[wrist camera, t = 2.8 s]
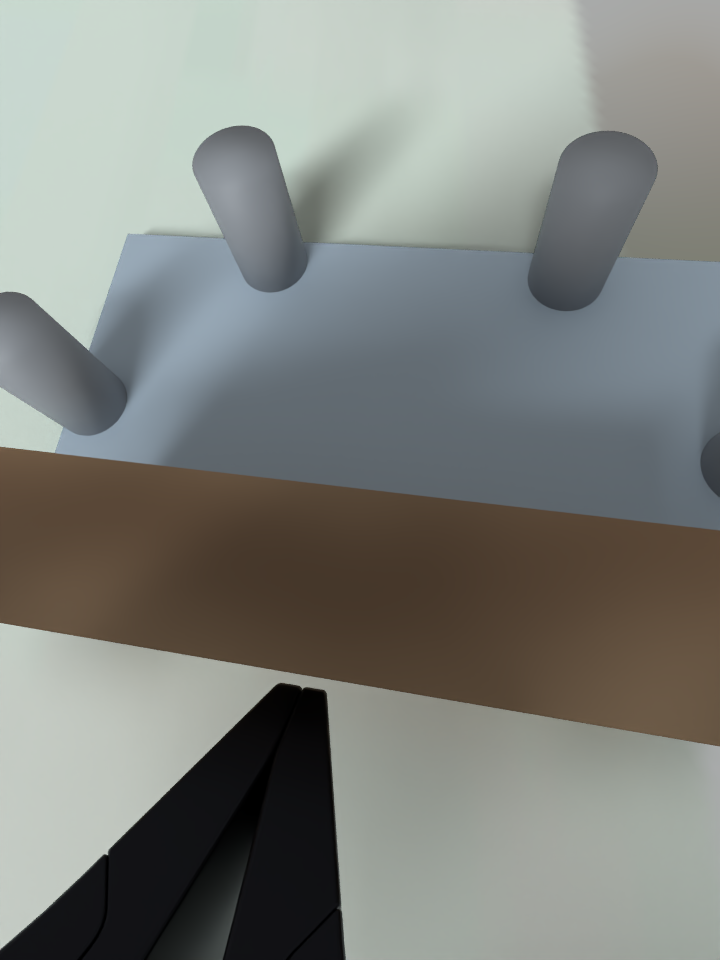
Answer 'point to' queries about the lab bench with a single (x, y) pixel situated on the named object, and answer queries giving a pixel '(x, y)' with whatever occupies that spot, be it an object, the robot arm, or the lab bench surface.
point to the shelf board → (372, 588)
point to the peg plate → (401, 352)
